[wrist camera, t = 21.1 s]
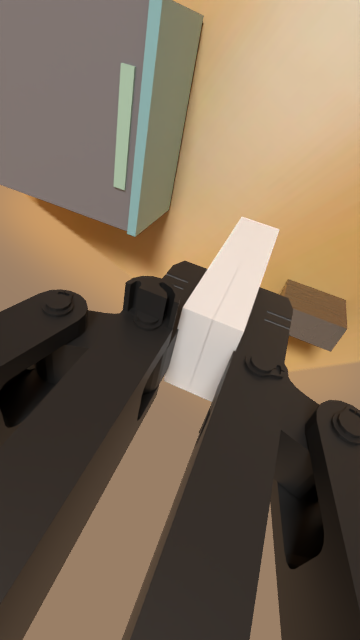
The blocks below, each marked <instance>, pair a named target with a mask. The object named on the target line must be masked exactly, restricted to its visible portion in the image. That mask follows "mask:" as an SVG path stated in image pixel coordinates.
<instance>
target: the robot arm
mask: <svg viewBox="0 0 360 640" xmlns="http://www.w3.org/2000/svg"><path fill="white" fill-rule="evenodd" d="M278 232H279V229H277V228H274V227H271V226H268V225H265V224H262V223H259V222H256V221H253V220H251V219H248V218H245V217H241V219H240V220H239V222H238V223H237V225H236V226H235V228H234V229H233V231H232V233H231V234H230V236H229V237H228V239H227V240H226V242H225V243H224V245H223V246H222V248H221V249H220V251H219V252H218V254H217V256H216V257H215V259H214V260H213V262H212V263H211V265H210V266H209V268H208V269H206V268H203V267H200V266H198V265H195V264H192V263H190V262H187V261H183V262H180V263H178V264H175V265H173V266H172V268H171V269H170V270H169V271H168V272H167V274H166V275H165V276H164V277H163V278H162V279H161V278H157V277H153V276H140V277H136V278H132V279H131V280H129V281H127V282H126V286H125V296H124V305H123V311H122V312H121V313H119V314H110V313H102V312H95V311H89V310H88V308H87V303H86V300H84V298H83V297H81V296H80V295H79V294H76V293H74V292H72V291H67V290H49V291H46V292H43V293H40V294H37V295H35V296H33V297H31V298H29V299H27V300H25V301H22V302H20V303H18V304H16V305H14V306H12V307H10V308H7V309H5V310H3V311H1V312H0V640H22V639H23V638H24V636H25V634H26V632H27V630H28V628H29V627H30V625H31V623H32V621H33V619H34V618H35V616H36V614H37V612H38V610H39V608H40V607H41V605H42V603H43V601H44V599H45V597H46V596H47V593H48V592H49V590H50V588H51V587H52V585H53V583H54V581H55V579H56V577H57V575H58V574H59V572H60V570H61V568H62V567H63V565H64V563H65V561H66V559H67V557H68V556H69V554H70V552H71V550H72V548H73V547H74V545H75V543H76V541H77V539H78V537H79V536H80V534H81V532H82V530H83V528H84V526H85V525H86V523H87V521H88V519H89V517H90V515H91V514H92V511H93V510H94V508H95V506H96V504H97V503H98V501H99V499H100V497H101V495H102V494H103V492H104V490H105V488H106V486H107V484H108V483H109V481H110V479H111V477H112V475H113V473H114V472H115V470H116V468H117V466H118V465H119V463H120V461H121V459H122V457H123V455H124V454H125V452H126V450H127V448H128V446H129V444H130V443H131V441H132V439H133V437H134V435H135V434H136V432H137V430H138V428H139V426H140V424H141V423H142V421H143V419H144V417H145V415H146V413H147V412H148V410H149V408H150V406H151V404H152V402H153V401H154V399H155V397H156V395H157V391H158V387H159V384H160V382H161V380H162V378H163V377H164V375H165V378H164V381H166V382H168V383H170V384H172V385H175V386H177V387H179V388H181V389H184V390H186V391H189V392H191V393H193V394H195V395H197V396H200V397H202V398H204V399H206V400H209V401H211V402H212V404H211V406H210V409H209V411H208V413H207V415H206V418H205V420H204V422H203V424H202V427H201V429H200V431H199V436H198V439H197V441H196V444H195V447H194V449H193V452H192V455H191V457H190V460H189V463H188V465H187V468H186V471H185V473H184V476H183V479H182V481H181V484H180V487H179V489H178V492H177V494H176V497H175V500H174V503H173V505H172V508H171V511H170V513H169V516H168V519H167V521H166V524H165V526H164V529H163V532H162V534H161V537H160V540H159V542H158V545H157V548H156V550H155V553H154V556H153V558H152V561H151V563H150V566H149V569H148V572H147V574H146V577H145V580H144V582H143V585H142V587H141V590H140V593H139V595H138V598H137V601H136V603H135V606H134V609H133V611H132V614H131V616H130V619H129V622H128V625H127V627H126V630H125V633H124V635H123V638H122V640H249V639H250V632H251V625H252V619H253V612H254V604H255V599H256V592H257V585H258V578H259V572H260V565H261V558H262V552H263V545H264V538H265V531H266V525H267V518H268V512H269V505H270V502H271V514H272V527H273V539H274V551H275V564H276V576H277V588H278V600H279V613H280V625H281V636H282V640H360V410H358V409H357V408H355V407H354V406H352V405H350V404H347V403H344V402H342V401H336V400H328V401H326V402H323V403H321V404H320V405H319V404H317V403H316V402H315V401H313V400H312V399H310V398H309V397H307V396H306V395H305V394H303V393H302V392H301V391H300V390H298V389H297V388H296V387H295V386H294V384H293V383H292V382H291V381H290V379H289V377H288V369H287V367H286V366H285V364H284V361H285V355H286V349H287V343H288V338H289V332H290V330H289V329H290V326H291V320H292V314H293V308H292V305H291V303H290V301H289V298H287V297H284V296H282V295H279V294H276V293H273V292H271V291H268V290H265V289H263V288H260V284H261V281H262V278H263V275H264V273H265V270H266V267H267V264H268V261H269V258H270V255H271V252H272V250H273V247H274V244H275V241H276V238H277V235H278ZM165 373H166V374H165Z"/></svg>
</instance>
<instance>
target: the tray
mask: <svg viewBox="0 0 360 640" xmlns="http://www.w3.org/2000/svg"><path fill="white" fill-rule="evenodd" d="M202 21H203V15H201V14H199V13H197V12H195V11H193V10H191V9H189V8H187V7H185V6H183V5H181V4H179V3H176V2H174V1H172V0H149V10H148V20H147V31H146V41H145V52H144V62H143V73H142V83H141V93H140V104H139V114H138V125H137V135H136V146H135V156H134V167H133V177H132V187H131V198H130V208H129V219H128V229H127V234H129V235H132V236H134V237H136V236H137V235H138V234H139V233H141V232H142V231H143V230H144V229H146V228H147V227H148V226H149V225H151V224H152V223H153V222H154V221H156V220H157V219H158V218H159V217H161V216H162V215H163V214H164V213H165V212H167V211H168V210H169V207H170V201H171V196H172V190H173V185H174V179H175V173H176V168H177V162H178V156H179V151H180V145H181V139H182V134H183V128H184V123H185V117H186V111H187V106H188V100H189V94H190V89H191V83H192V78H193V72H194V66H195V61H196V55H197V49H198V44H199V38H200V32H201V27H202Z"/></svg>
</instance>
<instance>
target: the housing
mask: <svg viewBox="0 0 360 640" xmlns="http://www.w3.org/2000/svg"><path fill="white" fill-rule="evenodd" d="M148 10H149V0H0V185H3V186H6V187H8V188H11V189H14V190H16V191H19V192H22V193H24V194H27V195H30V196H33V197H35V198H38V199H41V200H43V201H46V202H49V203H52V204H54V205H57V206H60V207H62V208H65V209H68V210H71V211H73V212H76V213H79V214H81V215H84V216H87V217H90V218H92V219H95V220H98V221H100V222H103V223H106V224H109V225H111V226H114V227H117V228H119V229H122V230H125V231H127V229H128V219H129V208H130V198H131V187H132V177H133V167H134V156H135V146H136V135H137V125H138V114H139V104H140V93H141V83H142V73H143V62H144V52H145V41H146V31H147V20H148Z"/></svg>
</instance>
